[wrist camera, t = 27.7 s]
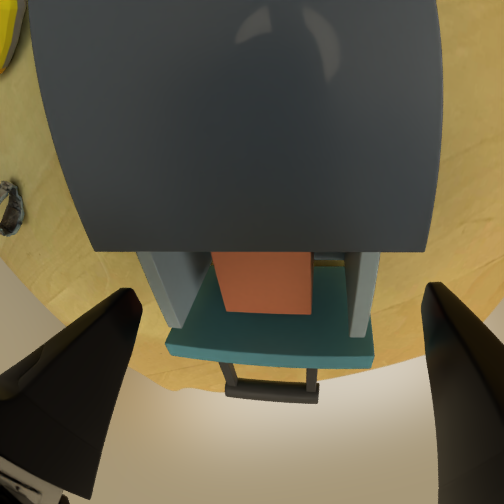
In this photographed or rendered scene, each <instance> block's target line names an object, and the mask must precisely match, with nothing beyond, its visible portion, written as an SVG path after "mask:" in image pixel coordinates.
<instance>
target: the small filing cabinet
mask: <svg viewBox="0 0 504 504" xmlns="http://www.w3.org/2000/svg"><path fill="white" fill-rule="evenodd" d="M28 10H29V22H30V32H31V40H32V48H33V54H34V61H35V67H36V72H37V78H38V83H39V87H40V92H41V97H42V101H43V105H44V110H45V114H46V118H47V121H48V125H49V129H50V132H51V136H52V139H53V143H54V146H55V149H56V153H57V156H58V159H59V162H60V165H61V168H62V171H63V174H64V177H65V180H66V183H67V185H68V188H69V191H70V194H71V196H72V199H73V202H74V204H75V207H76V209H77V212H78V214H79V217H80V219H81V222H82V224H83V226H84V229H85V231H86V234H87V236H88V238H89V240H90V243H91V245H92V247H93V249H94V251H95V252H424V251H425V248H426V244H427V239H428V234H429V229H430V224H431V218H432V213H433V207H434V201H435V194H436V187H437V180H438V172H439V162H440V152H441V139H442V122H443V66H442V49H441V37H440V27H439V19H438V12H437V5H436V0H28Z"/></svg>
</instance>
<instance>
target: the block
mask: <svg viewBox="0 0 504 504" xmlns="http://www.w3.org/2000/svg"><path fill="white" fill-rule="evenodd" d="M211 256H212V260H213V264H214V268H215V271H216V275H217V279H218V283H219V286H220V290H221V294H222V298H223V301H224V305H225V308H226V311H228V312H247V313H270V314H304V315H310V314H311V311H312V294H313V273H314V252H211Z"/></svg>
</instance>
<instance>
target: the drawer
mask: <svg viewBox="0 0 504 504" xmlns="http://www.w3.org/2000/svg"><path fill="white" fill-rule="evenodd" d="M136 254H137V256H138V259H139V261H140V264H141V266H142V268H143V271H144V273H145V276H146V278H147V280H148V283H149V285H150V287H151V290H152V292H153V294H154V296H155V299H156V301H157V303H158V305H159V307H160V309H161V312H162V314H163V316H164V318H165V320H166V322H167V324H168V326H169V327H172V329H171V331H170V333H169V335H168V337H167V339H166V342H165V345H166V347H167V349H168V351H169V353H170V354H171V355H172V356H179V357H186V358H193V359H200V360H208V361H216V362H219V365H220V367H221V370H222V372H223V375H224V377H225V380H226V384H225V395H226V396H227V397H234V398H243V399H252V400H261V401H262V400H263V401H273V402H286V403H305V404H317V403H318V395H319V383H316V382H317V369H370V368H371V366H372V363H373V360H374V356H375V355H374V344H373V334H372V325H371V316H370V311H371V306H372V301H373V296H374V290H375V284H376V278H377V272H378V266H379V259H380V252H314V260H344V265H345V266H314V273H313V294H312V311H311V314H310V315H304V314H270V313H247V312H228V311H226V308H225V305H224V301H223V298H222V294H221V290H220V286H219V283H218V279H217V275H216V271H215V268H214V265H211V262H212V256H211V252H136ZM233 363H235V364H246V365H258V366H272V367H289V368H307V372H306V383H302V382H282V381H268V380H256V379H245V378H237V375H236V372H235V369H234V366H233Z"/></svg>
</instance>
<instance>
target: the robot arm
mask: <svg viewBox="0 0 504 504" xmlns="http://www.w3.org/2000/svg"><path fill="white" fill-rule="evenodd" d="M142 312H143V308H142V304H141V303H140V301H139V299H138V297H137V295H136V293H135V292H134V290H133V289H132V288H120V289H119V290H117V291H116V292H114V293H113V294H111V295H110V296H109V297H107V298H106V299H104V300H103V301H101V302H100V303H99V304H97V305H96V306H94V307H93V308H92V309H90V310H89V311H88V312H86V313H85V314H83V315H82V316H81V317H79V318H78V319H76V320H75V321H74V322H72V323H71V324H70V325H68V326H67V327H66V328H64V329H63V330H62V331H60V332H59V333H58V334H56V335H55V336H54V337H52V338H51V339H50V340H48V341H47V342H46V343H45V344H43V345H42V346H40V347H39V348H38V349H36V350H35V351H34V352H32V353H31V354H30V355H28V356H27V357H25V358H24V359H23V360H21V361H20V362H18V363H17V364H16V365H14V366H12V367H11V368H10V369H8V370H7V371H5V372H4V373H2V374H1V375H0V504H70V503H69V500H68V498H67V496H65V495H64V494H62V493H63V490H66V491H68V492H70V493H73V494H76V495H78V496H80V497H83V498H85V499H88V500H90V499H91V496H92V492H93V487H94V483H95V478H96V474H97V470H98V466H99V462H100V457H101V454H102V453H101V452H102V449H103V446H104V442H105V438H106V435H107V431H108V427H109V424H110V420H111V417H112V414H113V410H114V407H115V404H116V400H117V397H118V394H119V391H120V387H121V384H122V381H123V378H124V375H125V372H126V369H127V366H128V363H129V360H130V357H131V354H132V351H133V348H134V344H135V340H136V336H137V332H138V328H139V324H140V320H141V316H142ZM421 314H422V323H423V332H424V342H425V354H426V362H427V368H428V374H429V380H430V386H431V393H432V400H433V408H434V416H435V426H436V437H437V452H438V476H439V477H438V478H439V479H438V480H439V489H438V504H504V345H503V343H501V341H500V340H499V339H498V338H497V337H496V336H495V335H494V334H493V333H492V332H491V331H490V330H489V329H488V327H487V326H486V325H485V324H484V323H483V322H482V321H481V320H480V319H479V318H478V317H477V316H476V315H475V314H474V313H473V312H472V311H471V310H470V309H469V308H468V307H467V306H466V305H465V304H464V303H463V302H462V301H461V300H460V299H459V298H458V297H457V296H456V295H454V294H453V293H452V292H451V291H450V290H449V289H448V288H447V287H446V286H445V285H444V284H443V283H441V282H429V283H428V284H427V285H426V288H425V292H424V296H423V300H422V304H421Z"/></svg>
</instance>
